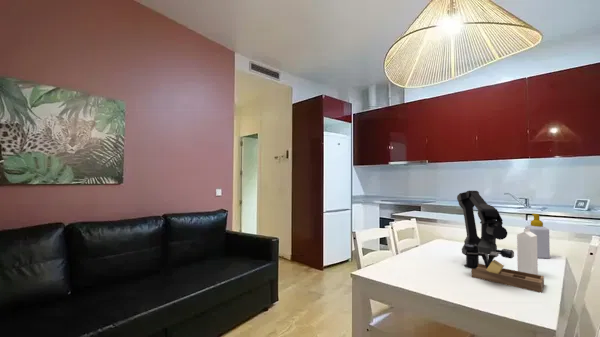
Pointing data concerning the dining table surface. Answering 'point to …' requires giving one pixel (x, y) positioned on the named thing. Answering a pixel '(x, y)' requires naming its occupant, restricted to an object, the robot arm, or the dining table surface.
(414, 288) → the dining table surface
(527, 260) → the milk
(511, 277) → the wooden compartment tray
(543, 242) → the soap bottle
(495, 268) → the block
